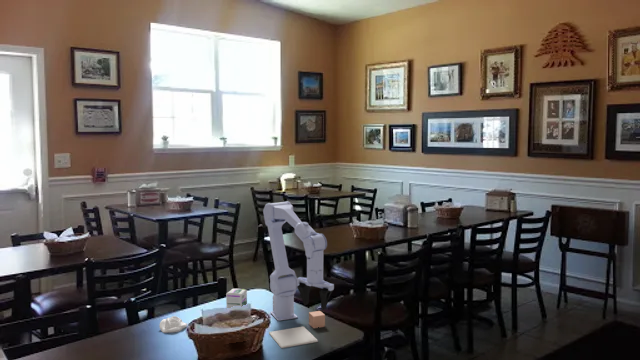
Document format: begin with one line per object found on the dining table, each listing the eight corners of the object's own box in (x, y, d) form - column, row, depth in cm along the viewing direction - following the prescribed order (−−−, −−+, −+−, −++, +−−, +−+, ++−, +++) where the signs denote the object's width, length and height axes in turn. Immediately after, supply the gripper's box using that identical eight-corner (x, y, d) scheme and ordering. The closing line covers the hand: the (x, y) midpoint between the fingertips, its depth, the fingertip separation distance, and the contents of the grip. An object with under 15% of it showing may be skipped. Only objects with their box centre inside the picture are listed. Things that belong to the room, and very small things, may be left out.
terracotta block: (308, 324, 188) (308, 312, 188) (320, 322, 190) (320, 310, 189) (313, 328, 184) (313, 316, 183) (324, 326, 186) (324, 314, 185)
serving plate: (269, 333, 179) (269, 331, 179) (303, 327, 184) (303, 326, 184) (281, 348, 167) (281, 346, 167) (317, 341, 172) (317, 340, 172)
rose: (156, 314, 186) (183, 310, 190) (156, 326, 186) (183, 321, 191) (162, 323, 177) (189, 318, 182) (162, 336, 177) (190, 330, 182)
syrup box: (242, 334, 179) (241, 293, 177) (226, 332, 180) (225, 292, 178) (247, 327, 184) (247, 288, 183) (232, 326, 185) (231, 287, 184)
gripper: (291, 268, 178) (291, 305, 180) (326, 275, 170) (325, 314, 172) (303, 263, 184) (303, 299, 186) (337, 270, 176) (336, 308, 177)
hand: (314, 306), depth 179 cm, fingers open, 7 cm apart
